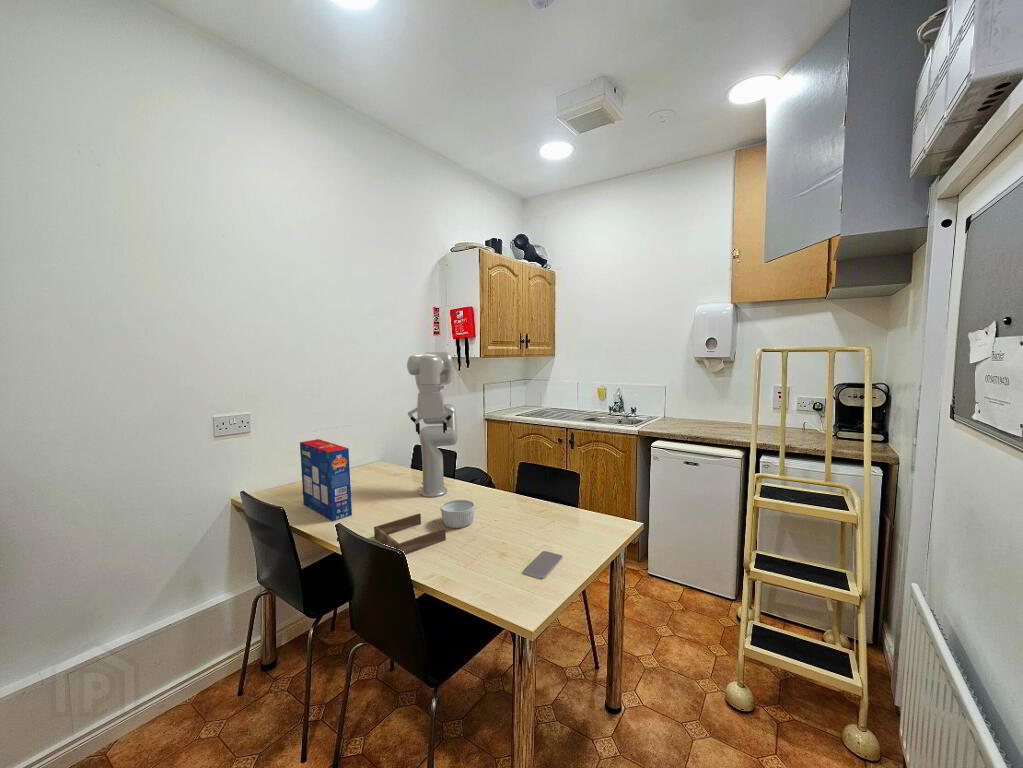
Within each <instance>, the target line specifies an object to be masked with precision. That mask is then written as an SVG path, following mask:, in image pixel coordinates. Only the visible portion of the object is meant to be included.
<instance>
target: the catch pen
mask: <svg viewBox="0 0 1023 768" xmlns="http://www.w3.org/2000/svg"><path fill="white" fill-rule="evenodd" d="M421 524H422V515H421V513H420V512H419V513H416V514H413V515H409V516H406V517H402V518H400V519H396V520H392V521H390V522H387V523H383V524H382V523H381V524H379V525H376V526H373V529H374V530H373V531H374V533H373V535H374V538H375V539H376V540H377V541H378V542H379V543H380V544H381V543H382V544H381V545H383V544H385V545H388V546H390V547H394V548H396V549H400V550H402V551H404V553H405V554H406V555H409V554H411V553H412V554H413V552H417V551H420V550H422V549H425V548H428V547H430V546H431V547H432V546H433V545H436V544H438V543H442V542H444V541H446V540H447V535H446V530H447V529H446V528H444V527H443V528H441V529H437V530H435V531H432V532H428V533H426V534H423V535H420V536H416V537H414V538H412V539H408V540H405V541H402V542H398V541H397V540H395V539H394V538H392V537H391V536H390V535H392V534H395V533H398V532H401V531H404V530H406V529H407V530H408V529H410V528H413V527H416V526H419V525H421Z"/></svg>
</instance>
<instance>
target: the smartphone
mask: <svg viewBox="0 0 1023 768" xmlns="http://www.w3.org/2000/svg"><path fill="white" fill-rule="evenodd" d="M562 560H563V554H559V553H554V552H551V551H546V550H542V551H541V552H540V553H539V554H538V555H537V556H536V557H535V558H534V559H533V560H532V561H530V563H528V564H527V565H526V566H525V567H524V568H523V570H522V573H523V574H524V575H525V576H530V577H533V578H537V579H540V580H543V579H544V580H545V579H546V578H547V577H548V575H550V573H551V572H552V571H553V570H554V569H555V568H556V566H558V564H559V563H560V561H562Z"/></svg>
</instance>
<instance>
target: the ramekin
mask: <svg viewBox="0 0 1023 768" xmlns="http://www.w3.org/2000/svg"><path fill="white" fill-rule="evenodd" d="M475 508H476V504H475V503H474V502H473V501H472V500H470V499H469V500H468V499H451V500H447V501H444V502H442V504H441V505H440V509H439V510H440V512H441V518H442V523H443V525H445V527H447V528H451V529H462V528H466V527H468V526H470V525H471V524H472V522H473V521H474V517H475V516H474V515H475Z"/></svg>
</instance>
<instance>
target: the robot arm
mask: <svg viewBox="0 0 1023 768" xmlns="http://www.w3.org/2000/svg"><path fill="white" fill-rule="evenodd" d="M406 368H407V371H408V373H409V375H411V376H415V377H414V379H415V383H416V387H417V389H418V393H417V402H416V403H417V404H416V408H413V409H412V410H409V411H408V412H407V416H408V417H409V419H410V420H411V421H412V422H413V423H414V424H415V432H416V433H417V435H418V436H419V438H418V439H419V442H420V449H421V462H422V464H421V466H422V482H421V485H422V488H421V489H420V491H419V494H420V496H421V497H425V498H426V497H427V498H435V497H440V496H444V495H445V494H447V493H448V488H447V487H445V486H444V484H445V483H444V481H445V480H444V454H443V453H442V452H441V450H440V449H439V448H438V447H448V446H455V445H456V444H457V442H458V439H459V438H458V437H459V436H458V435H459V434H458V422H457V421H458V420H457V411H456V408H455V406H454V404H451V403H444V402H445V400H444V395H443V392H442V391H441V390H444V389H445V386H446V385H450V384H451V383H452V381H453V358H452V356H451V354H450V353H449V352H447V351H431V352H430V351H428V352H425V353H422V354H421V353H420V354H415V355H410V356H409V357H408V359H407V362H406ZM416 412H417V417H416V418H415V417H414V414H415V413H416ZM421 421H423V423H424V424H426V425H428V426H423V427H422V428H421V426H420V425H421V423H420V422H421Z"/></svg>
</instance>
